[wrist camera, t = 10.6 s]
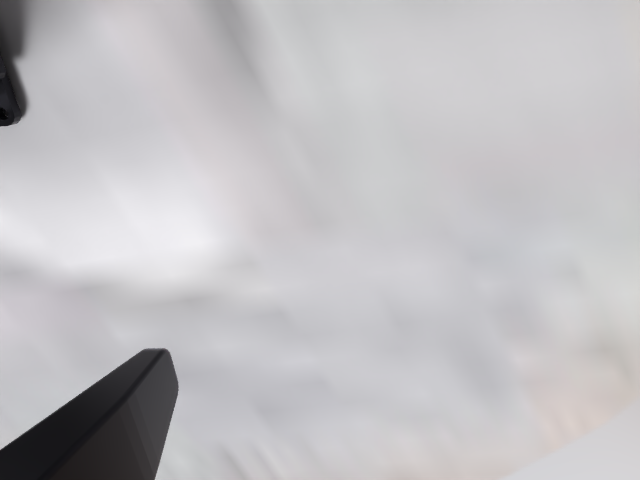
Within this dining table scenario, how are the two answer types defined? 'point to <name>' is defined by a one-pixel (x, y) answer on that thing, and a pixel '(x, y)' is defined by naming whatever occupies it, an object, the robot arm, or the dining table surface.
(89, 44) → the dining table surface
